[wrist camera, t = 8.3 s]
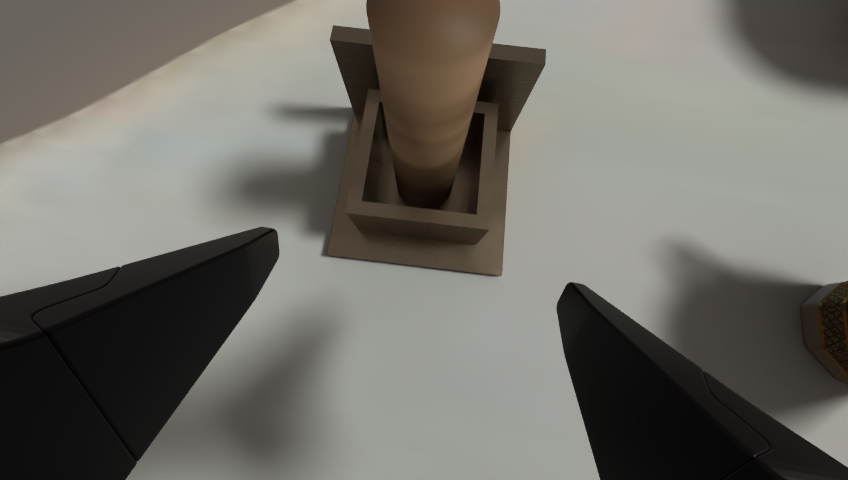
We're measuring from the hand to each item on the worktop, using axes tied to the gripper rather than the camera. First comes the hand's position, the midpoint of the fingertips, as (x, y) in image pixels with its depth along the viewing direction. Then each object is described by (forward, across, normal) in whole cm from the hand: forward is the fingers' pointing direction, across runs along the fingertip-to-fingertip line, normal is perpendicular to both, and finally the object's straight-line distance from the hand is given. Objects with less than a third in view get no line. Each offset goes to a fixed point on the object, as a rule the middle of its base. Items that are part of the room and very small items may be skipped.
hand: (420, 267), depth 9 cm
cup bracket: (+14, +1, +2) cm, 14 cm away
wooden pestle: (+13, +1, +2) cm, 13 cm away
